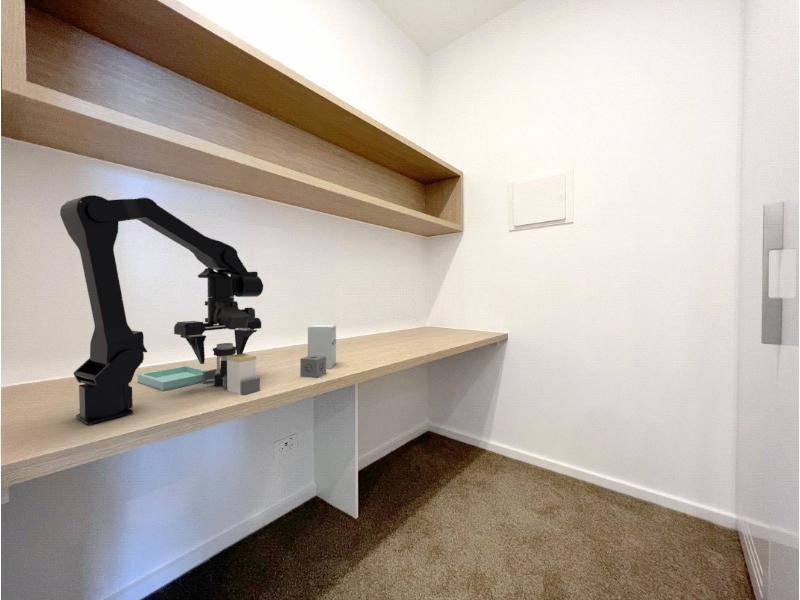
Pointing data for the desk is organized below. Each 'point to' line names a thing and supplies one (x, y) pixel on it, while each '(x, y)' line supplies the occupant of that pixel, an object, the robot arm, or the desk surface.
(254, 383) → the set of grey blocks
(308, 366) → the dark grey cube
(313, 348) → the supplement box
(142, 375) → the tray
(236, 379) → the white lidded container
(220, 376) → the push button
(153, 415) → the desk surface
